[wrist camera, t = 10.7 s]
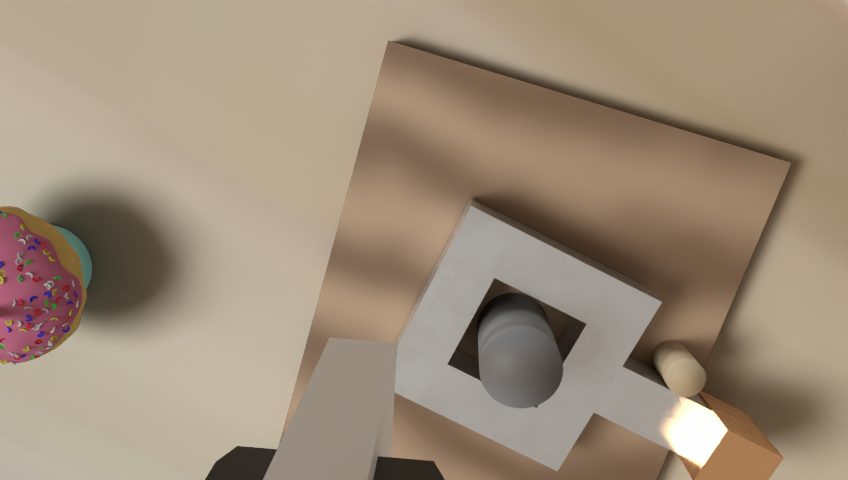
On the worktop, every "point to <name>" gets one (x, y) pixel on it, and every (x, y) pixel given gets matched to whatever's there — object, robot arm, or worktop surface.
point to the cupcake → (38, 285)
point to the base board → (547, 214)
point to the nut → (563, 356)
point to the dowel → (678, 368)
